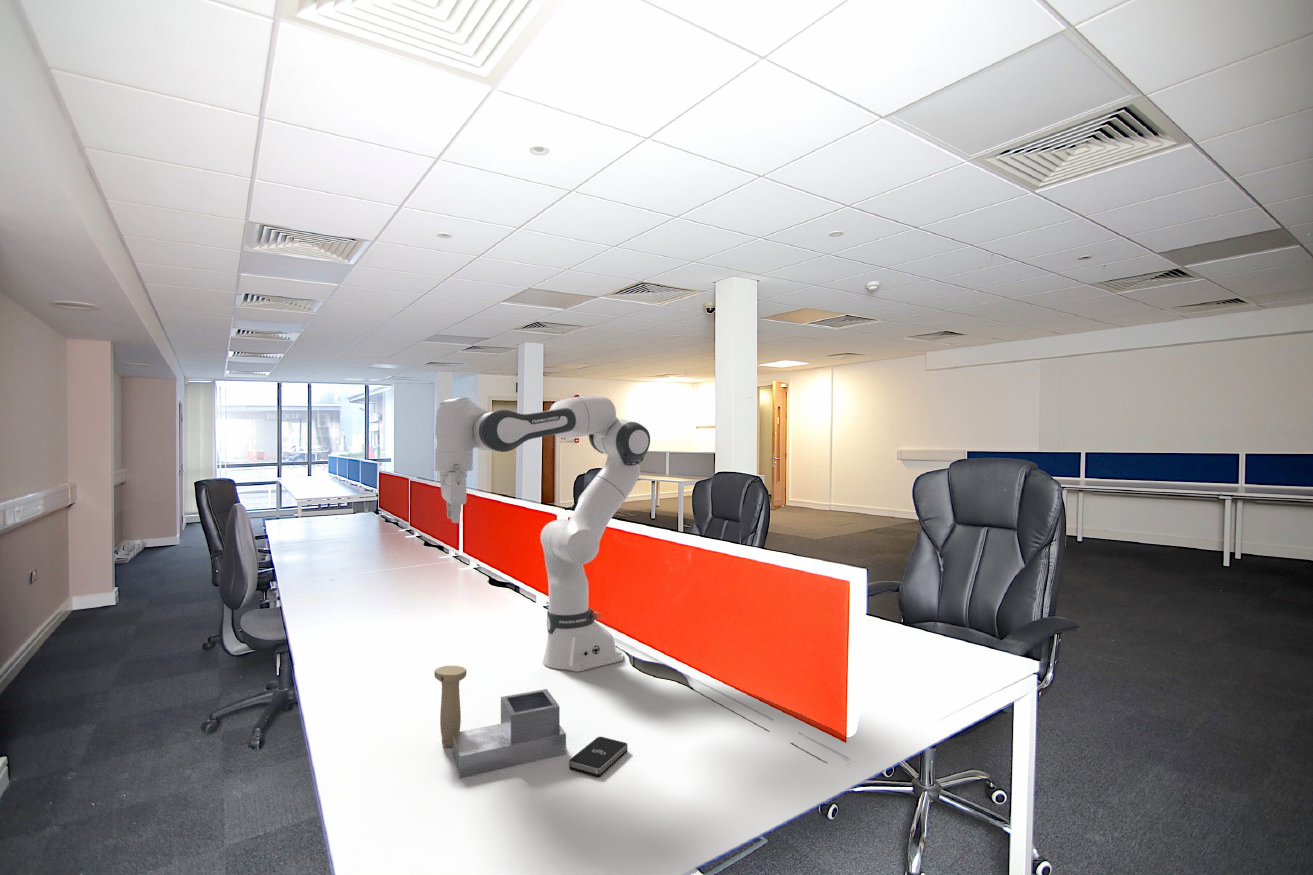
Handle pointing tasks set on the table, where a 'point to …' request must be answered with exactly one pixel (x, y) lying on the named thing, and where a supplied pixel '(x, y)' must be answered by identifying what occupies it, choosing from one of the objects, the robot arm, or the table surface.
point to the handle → (450, 701)
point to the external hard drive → (598, 756)
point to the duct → (512, 736)
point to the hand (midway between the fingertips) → (453, 520)
